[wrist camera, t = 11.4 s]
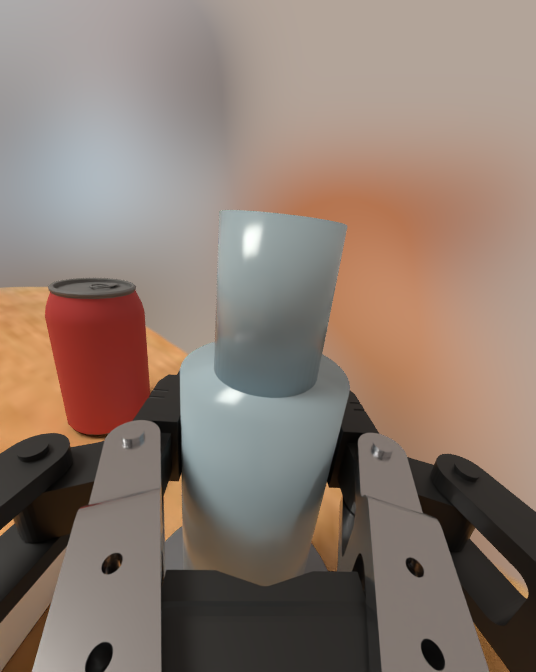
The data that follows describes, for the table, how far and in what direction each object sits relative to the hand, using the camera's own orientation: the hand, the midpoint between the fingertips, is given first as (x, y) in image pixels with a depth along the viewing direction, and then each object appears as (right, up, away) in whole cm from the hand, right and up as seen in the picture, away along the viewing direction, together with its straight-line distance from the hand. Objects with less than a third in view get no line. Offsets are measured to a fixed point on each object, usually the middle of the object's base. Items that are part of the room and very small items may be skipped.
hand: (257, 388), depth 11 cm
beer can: (-14, -5, +13) cm, 20 cm away
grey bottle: (-1, -10, +1) cm, 10 cm away
